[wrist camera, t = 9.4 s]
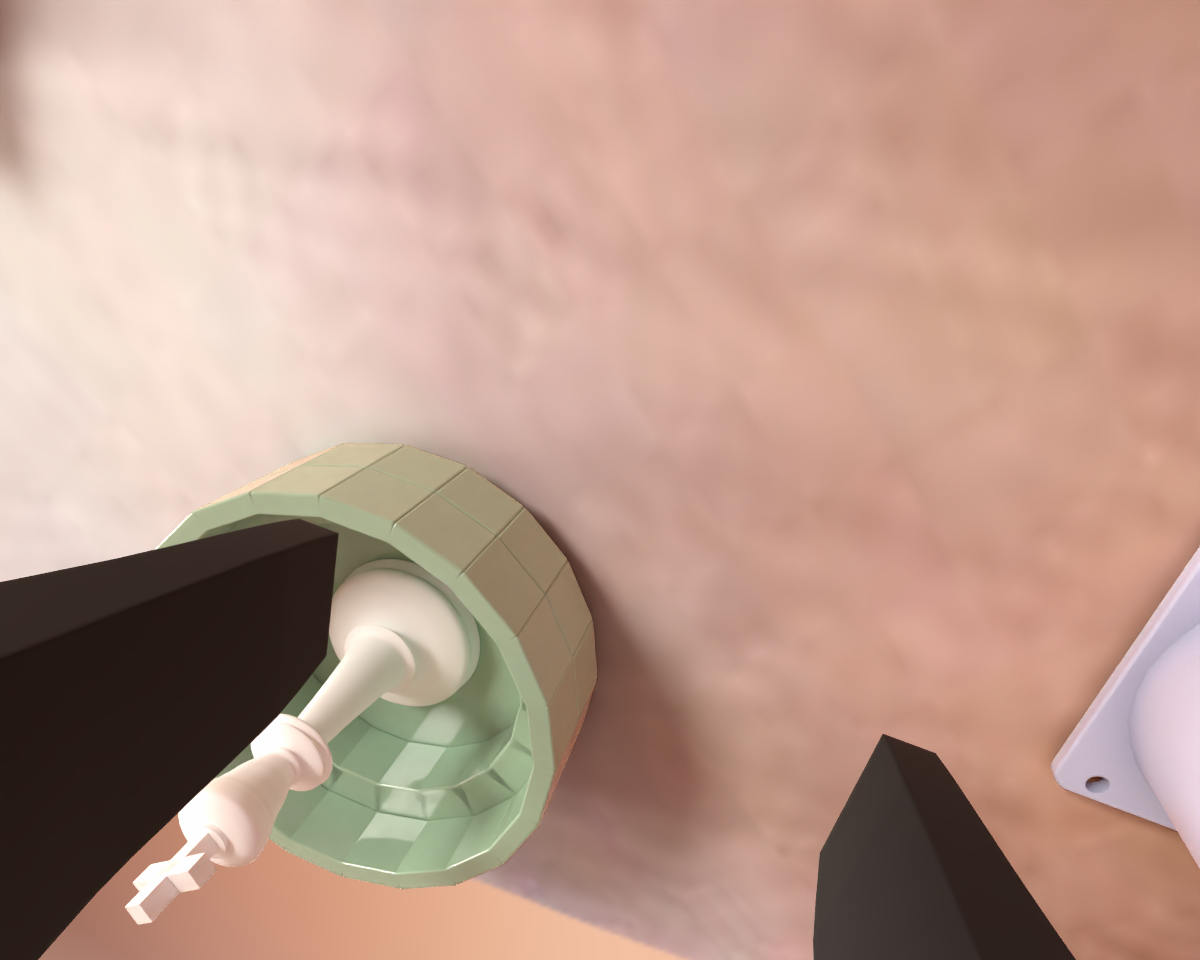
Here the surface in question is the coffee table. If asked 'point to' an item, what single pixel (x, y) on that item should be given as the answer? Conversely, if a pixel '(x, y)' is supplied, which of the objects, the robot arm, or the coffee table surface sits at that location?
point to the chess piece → (324, 718)
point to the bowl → (475, 711)
